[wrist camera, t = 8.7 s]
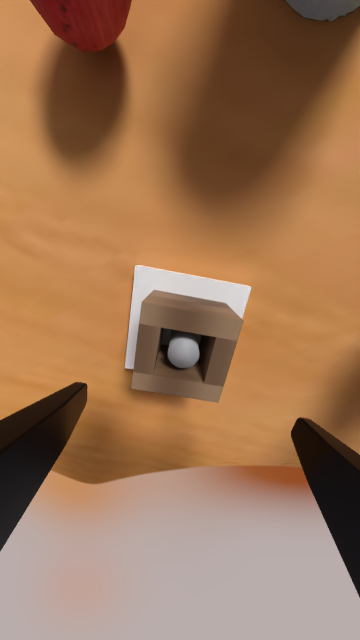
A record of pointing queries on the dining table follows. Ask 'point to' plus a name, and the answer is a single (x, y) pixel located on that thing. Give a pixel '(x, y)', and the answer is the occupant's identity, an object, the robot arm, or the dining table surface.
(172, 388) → the collar
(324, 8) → the grey-blue tapered cup
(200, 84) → the dining table surface
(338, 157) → the dining table surface
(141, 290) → the post base
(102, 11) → the onion
